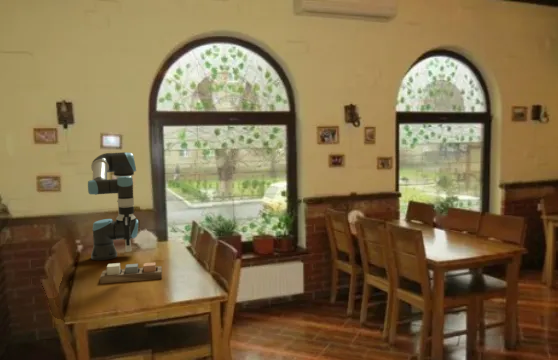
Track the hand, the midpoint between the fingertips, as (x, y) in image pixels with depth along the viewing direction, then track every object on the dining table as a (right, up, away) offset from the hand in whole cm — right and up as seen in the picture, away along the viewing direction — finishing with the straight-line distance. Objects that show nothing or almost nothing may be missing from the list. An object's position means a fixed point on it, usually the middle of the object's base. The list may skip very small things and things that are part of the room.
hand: (128, 251), depth 251 cm
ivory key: (-7, -12, -1) cm, 14 cm away
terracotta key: (+10, -12, +3) cm, 16 cm away
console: (+2, -14, +1) cm, 14 cm away
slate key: (+2, -12, +1) cm, 12 cm away
